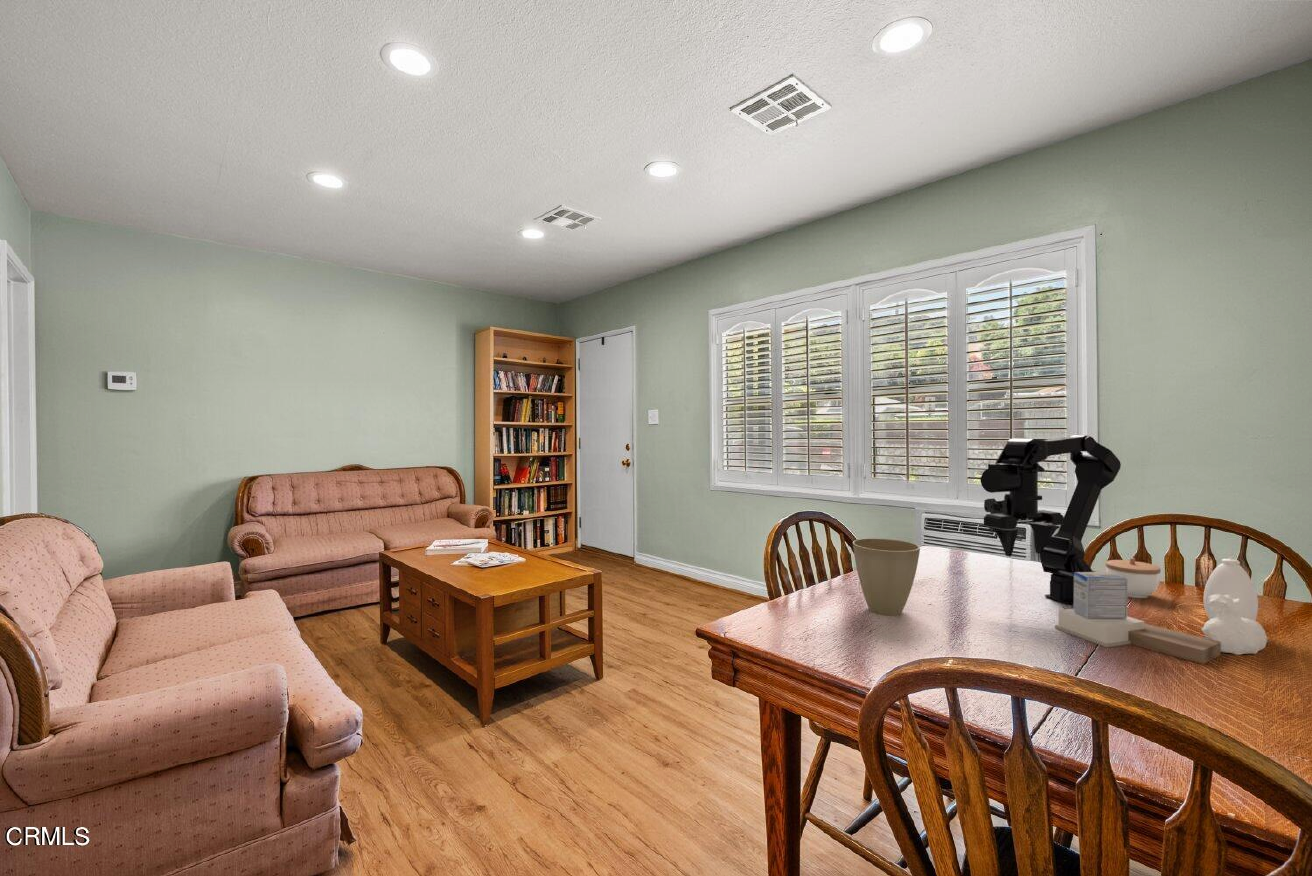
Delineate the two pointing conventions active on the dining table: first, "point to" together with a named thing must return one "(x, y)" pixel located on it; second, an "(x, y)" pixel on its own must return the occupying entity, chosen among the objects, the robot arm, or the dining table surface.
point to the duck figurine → (1233, 627)
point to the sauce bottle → (1232, 587)
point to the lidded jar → (1136, 576)
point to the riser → (1098, 628)
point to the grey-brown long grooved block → (1175, 643)
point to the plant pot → (886, 572)
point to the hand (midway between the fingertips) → (1023, 554)
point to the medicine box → (1100, 595)
